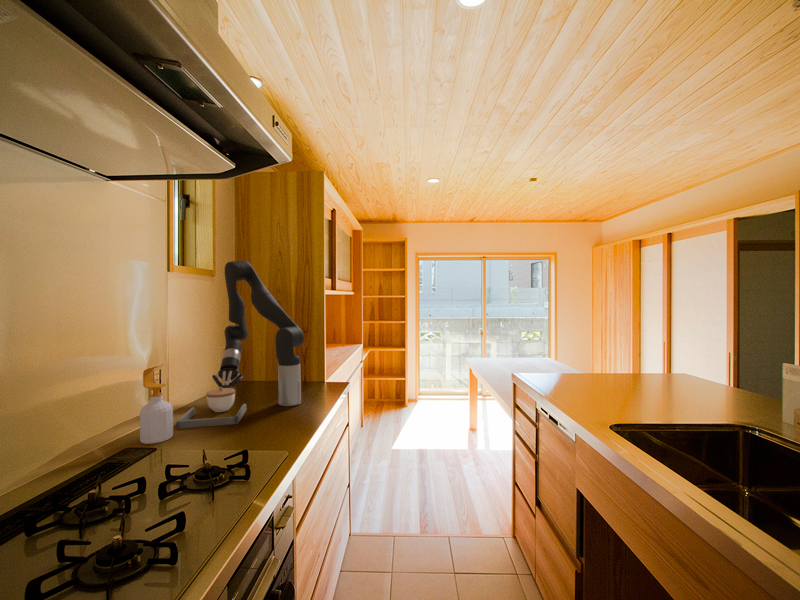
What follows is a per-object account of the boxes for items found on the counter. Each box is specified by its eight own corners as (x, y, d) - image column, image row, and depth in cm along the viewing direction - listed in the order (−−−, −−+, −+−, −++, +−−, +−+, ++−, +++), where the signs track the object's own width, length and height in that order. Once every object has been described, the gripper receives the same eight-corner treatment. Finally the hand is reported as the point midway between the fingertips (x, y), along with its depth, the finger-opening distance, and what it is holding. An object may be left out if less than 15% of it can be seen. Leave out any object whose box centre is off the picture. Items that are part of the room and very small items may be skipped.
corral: (246, 409, 149) (246, 403, 149) (237, 423, 133) (237, 417, 133) (191, 413, 145) (191, 407, 144) (176, 428, 128) (176, 421, 128)
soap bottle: (161, 444, 115) (160, 367, 115) (133, 444, 115) (131, 367, 115) (179, 433, 124) (178, 362, 124) (152, 433, 124) (151, 362, 124)
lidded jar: (221, 415, 142) (221, 391, 142) (200, 412, 146) (199, 389, 146) (241, 407, 153) (241, 385, 152) (221, 404, 156) (220, 383, 156)
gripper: (213, 356, 162) (205, 391, 151) (245, 355, 165) (239, 389, 153) (217, 366, 168) (209, 400, 156) (247, 364, 170) (242, 398, 159)
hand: (224, 394), depth 155 cm, fingers closed
